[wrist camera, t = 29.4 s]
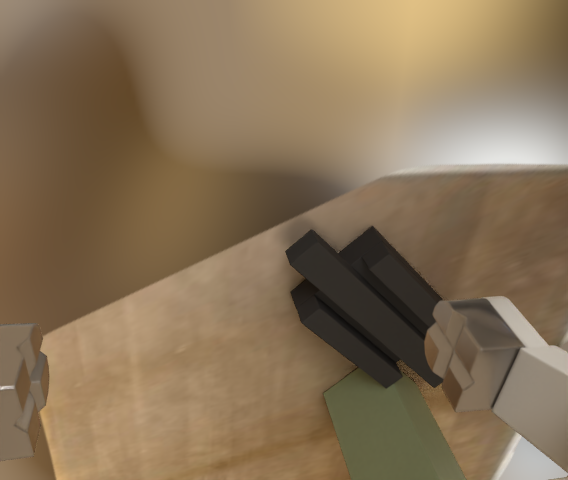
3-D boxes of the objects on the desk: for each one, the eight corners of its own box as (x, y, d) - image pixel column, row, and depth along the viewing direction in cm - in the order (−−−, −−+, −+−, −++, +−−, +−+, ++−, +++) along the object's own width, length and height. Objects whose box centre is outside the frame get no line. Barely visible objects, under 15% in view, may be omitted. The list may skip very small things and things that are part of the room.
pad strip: (311, 228, 43) (317, 241, 42) (449, 358, 56) (457, 372, 54) (284, 251, 44) (289, 264, 42) (426, 374, 57) (434, 388, 55)
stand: (378, 352, 57) (466, 536, 41) (416, 383, 61) (509, 561, 45) (322, 393, 59) (385, 585, 42) (362, 420, 63) (433, 605, 47)
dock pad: (372, 225, 48) (390, 253, 44) (446, 303, 55) (466, 332, 51) (290, 291, 50) (300, 323, 46) (371, 357, 57) (386, 389, 53)
